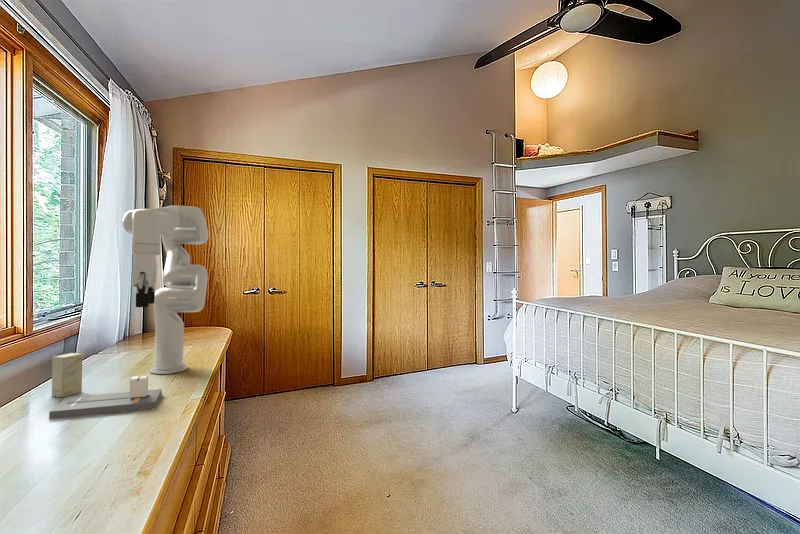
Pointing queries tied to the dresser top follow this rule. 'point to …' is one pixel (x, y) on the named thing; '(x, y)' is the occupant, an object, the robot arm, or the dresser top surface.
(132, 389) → the fader tab
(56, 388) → the skincare box
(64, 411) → the fader board
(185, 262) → the robot arm
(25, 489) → the dresser top surface
